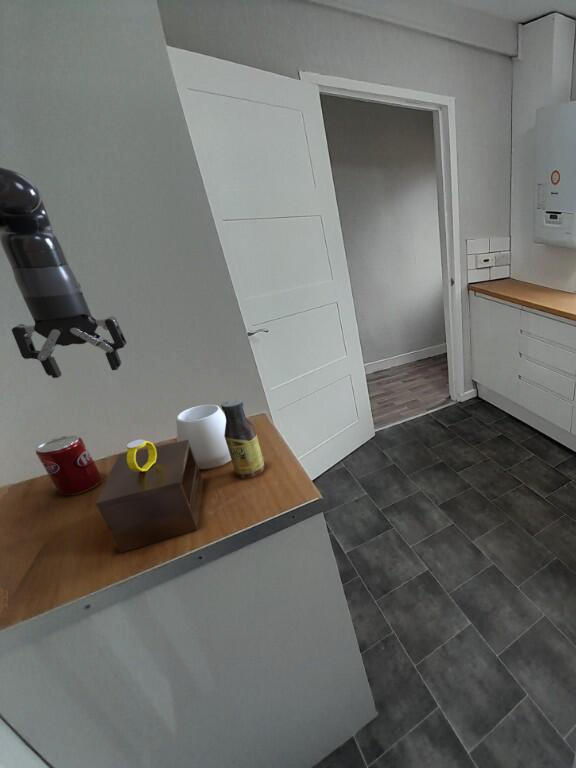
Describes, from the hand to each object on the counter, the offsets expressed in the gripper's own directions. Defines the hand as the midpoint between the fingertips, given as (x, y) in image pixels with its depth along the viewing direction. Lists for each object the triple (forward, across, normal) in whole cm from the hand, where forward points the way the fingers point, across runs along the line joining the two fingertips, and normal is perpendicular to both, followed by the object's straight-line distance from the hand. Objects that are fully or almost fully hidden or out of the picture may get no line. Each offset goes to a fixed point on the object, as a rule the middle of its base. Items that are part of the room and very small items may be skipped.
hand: (87, 372), depth 81 cm
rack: (+30, +6, -11) cm, 33 cm away
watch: (+18, +6, -11) cm, 22 cm away
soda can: (+30, -12, +10) cm, 34 cm away
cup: (+30, +14, +8) cm, 34 cm away
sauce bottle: (+30, +22, -3) cm, 38 cm away
